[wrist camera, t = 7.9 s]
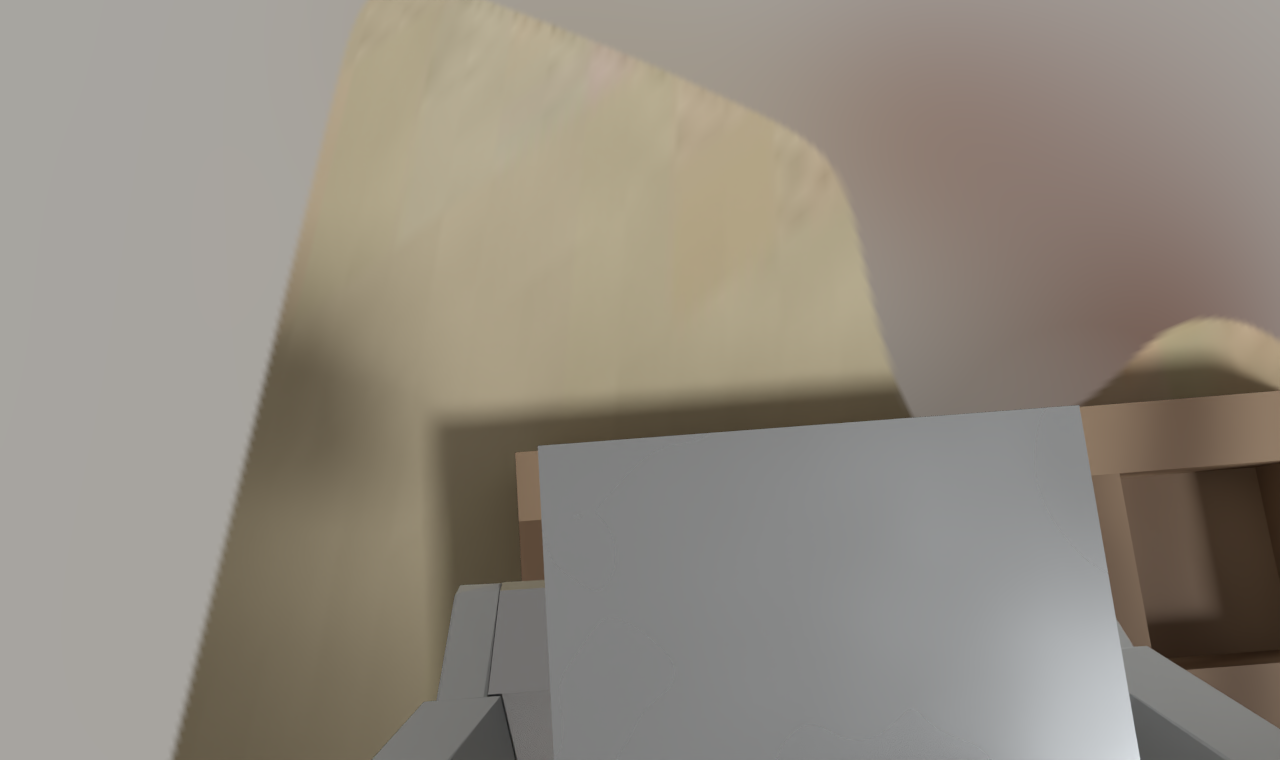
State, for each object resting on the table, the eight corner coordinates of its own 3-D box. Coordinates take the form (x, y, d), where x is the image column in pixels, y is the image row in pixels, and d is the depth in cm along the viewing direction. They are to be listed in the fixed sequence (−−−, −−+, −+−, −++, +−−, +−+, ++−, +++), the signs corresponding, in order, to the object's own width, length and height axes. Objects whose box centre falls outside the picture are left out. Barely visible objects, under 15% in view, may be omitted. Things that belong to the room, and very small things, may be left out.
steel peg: (826, 500, 17) (1079, 405, 7) (853, 733, 16) (1183, 1009, 6) (606, 516, 17) (536, 445, 7) (620, 750, 16) (570, 1057, 6)
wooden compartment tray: (1308, 401, 28) (1391, 380, 25) (1378, 708, 26) (1478, 728, 23) (530, 464, 28) (513, 451, 25) (547, 773, 27) (531, 801, 23)
